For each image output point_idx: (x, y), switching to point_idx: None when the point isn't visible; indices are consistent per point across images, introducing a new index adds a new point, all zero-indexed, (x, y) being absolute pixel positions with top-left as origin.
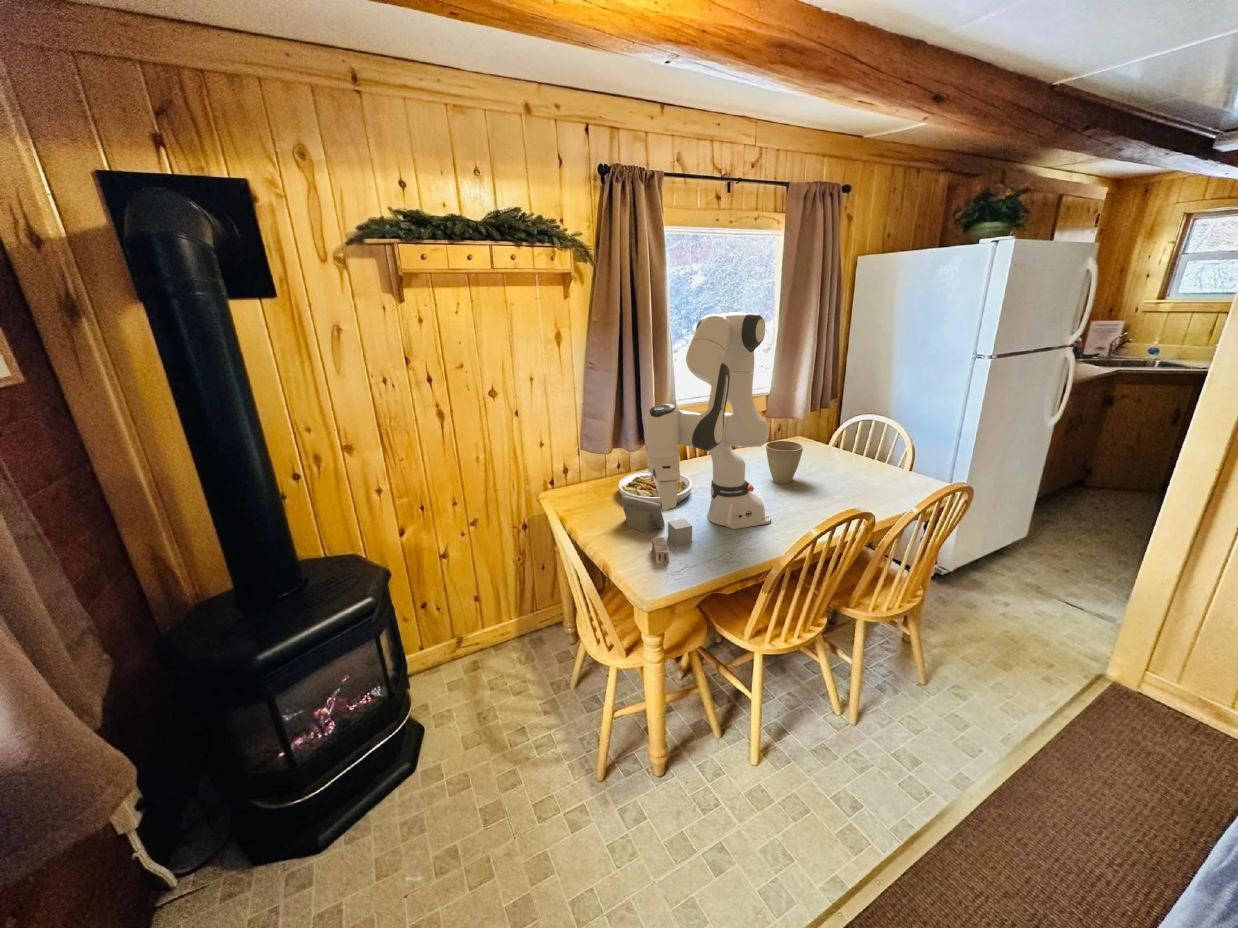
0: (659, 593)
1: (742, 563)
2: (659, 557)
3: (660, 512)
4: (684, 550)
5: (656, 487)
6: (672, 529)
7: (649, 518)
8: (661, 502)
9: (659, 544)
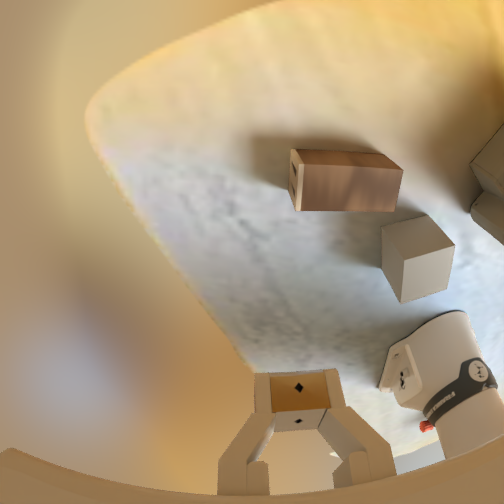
0: (113, 144)
1: (251, 343)
2: (293, 168)
3: (497, 237)
4: (345, 244)
5: (410, 498)
6: (420, 246)
7: (499, 192)
8: (46, 480)
9: (352, 186)
